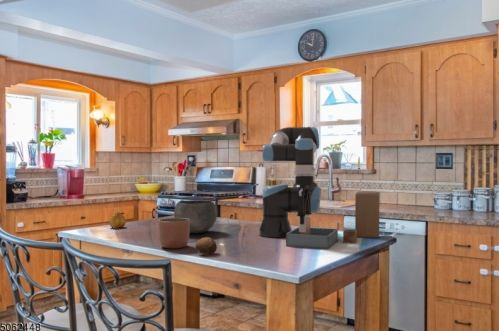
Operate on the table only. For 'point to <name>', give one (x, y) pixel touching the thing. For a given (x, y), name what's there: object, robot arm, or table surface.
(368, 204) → the wooden block
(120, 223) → the fruit
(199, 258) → the table surface
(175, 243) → the planter
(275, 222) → the robot arm
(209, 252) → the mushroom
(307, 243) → the tote
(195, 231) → the bowl
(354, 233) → the walnut cube
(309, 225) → the peach colored egg
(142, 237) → the table surface
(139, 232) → the table surface
